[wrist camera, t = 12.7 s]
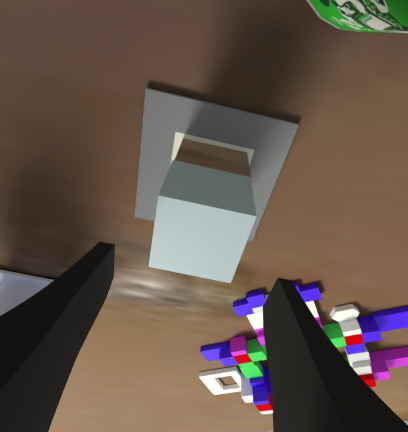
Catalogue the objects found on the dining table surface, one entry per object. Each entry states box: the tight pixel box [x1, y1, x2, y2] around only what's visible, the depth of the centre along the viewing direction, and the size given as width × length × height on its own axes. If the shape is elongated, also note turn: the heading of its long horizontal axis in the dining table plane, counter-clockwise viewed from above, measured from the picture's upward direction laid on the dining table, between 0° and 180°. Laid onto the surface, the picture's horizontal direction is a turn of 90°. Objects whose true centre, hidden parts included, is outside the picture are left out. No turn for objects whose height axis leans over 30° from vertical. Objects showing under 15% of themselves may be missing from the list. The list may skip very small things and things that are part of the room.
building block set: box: [199, 281, 408, 414], centre depth 31 cm, size 25×20×4 cm
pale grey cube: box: [149, 160, 257, 283], centre depth 16 cm, size 4×4×4 cm
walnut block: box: [175, 138, 251, 178], centre depth 19 cm, size 4×4×4 cm
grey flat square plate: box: [135, 87, 299, 242], centre depth 21 cm, size 10×10×1 cm
